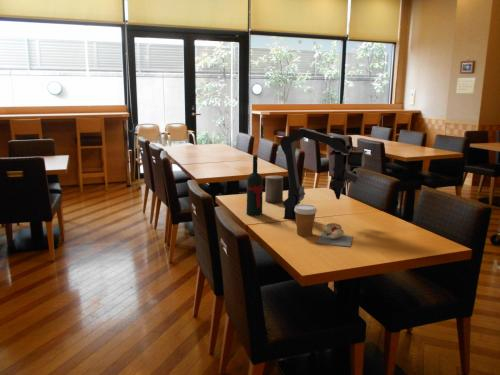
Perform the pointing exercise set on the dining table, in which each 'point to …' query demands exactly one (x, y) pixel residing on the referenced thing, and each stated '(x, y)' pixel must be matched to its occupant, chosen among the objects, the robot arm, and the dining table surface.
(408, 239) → the dining table surface
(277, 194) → the pillar candle
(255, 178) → the wine bottle
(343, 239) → the mat
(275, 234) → the dining table surface
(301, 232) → the disposable coffee cup
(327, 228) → the chocolate bunny
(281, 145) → the robot arm
